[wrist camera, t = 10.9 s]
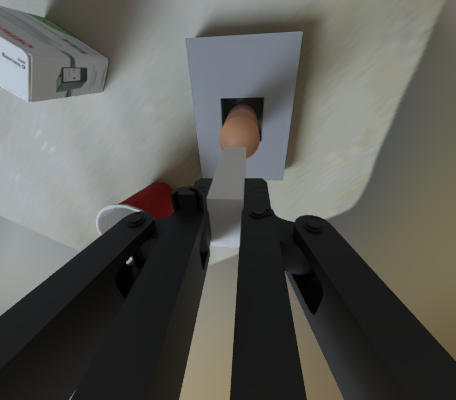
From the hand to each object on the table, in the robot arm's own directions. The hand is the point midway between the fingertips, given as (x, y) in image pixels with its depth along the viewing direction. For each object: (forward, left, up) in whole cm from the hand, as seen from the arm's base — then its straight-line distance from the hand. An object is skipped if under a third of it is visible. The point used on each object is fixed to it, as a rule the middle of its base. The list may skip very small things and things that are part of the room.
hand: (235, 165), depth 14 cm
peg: (0, 0, -18) cm, 18 cm away
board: (0, 0, -18) cm, 18 cm away
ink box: (-8, -23, -18) cm, 30 cm away
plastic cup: (+14, -16, -18) cm, 28 cm away
